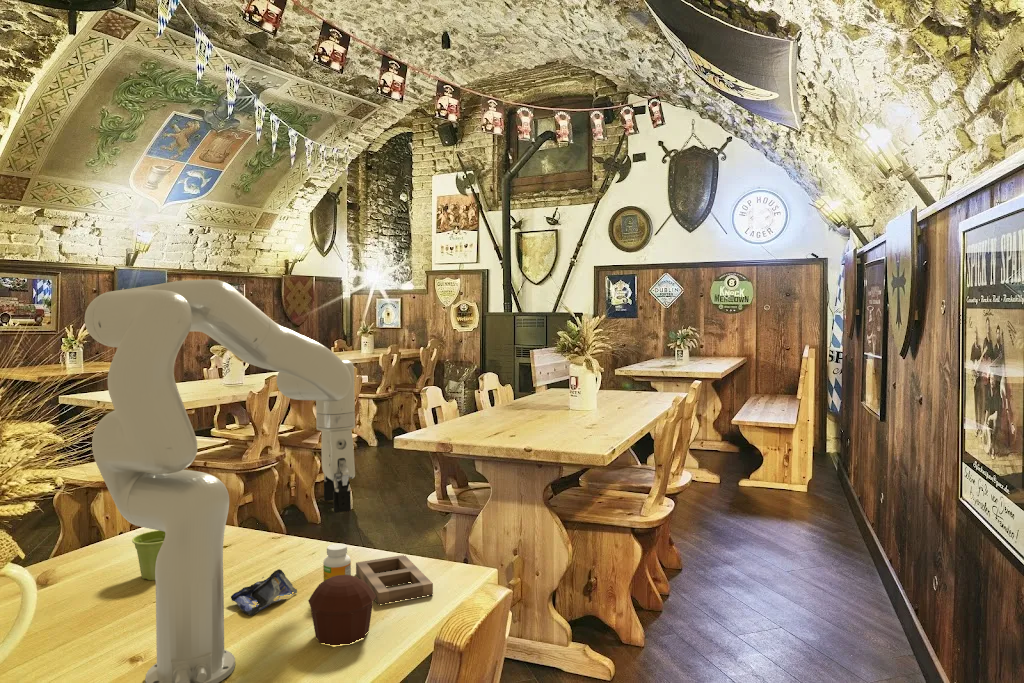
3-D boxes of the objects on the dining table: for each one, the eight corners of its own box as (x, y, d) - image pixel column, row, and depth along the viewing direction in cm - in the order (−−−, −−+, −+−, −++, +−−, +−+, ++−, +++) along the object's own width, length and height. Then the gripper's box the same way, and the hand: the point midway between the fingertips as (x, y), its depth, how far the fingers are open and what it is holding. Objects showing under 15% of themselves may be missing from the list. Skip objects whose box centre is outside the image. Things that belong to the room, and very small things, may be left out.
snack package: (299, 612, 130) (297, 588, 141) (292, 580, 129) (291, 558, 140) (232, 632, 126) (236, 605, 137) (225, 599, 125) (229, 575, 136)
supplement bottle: (318, 598, 135) (318, 549, 135) (331, 588, 141) (331, 541, 140) (343, 600, 134) (342, 551, 134) (355, 590, 139) (355, 543, 139)
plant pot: (181, 579, 146) (180, 539, 146) (131, 586, 142) (130, 545, 142) (181, 565, 154) (181, 527, 154) (134, 572, 150) (133, 533, 150)
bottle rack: (432, 595, 136) (432, 583, 136) (378, 605, 131) (378, 593, 131) (404, 565, 153) (404, 554, 153) (356, 573, 149) (355, 562, 148)
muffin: (295, 636, 119) (295, 579, 118) (348, 615, 127) (348, 562, 127) (335, 657, 111) (335, 597, 111) (389, 634, 119) (388, 578, 119)
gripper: (364, 425, 131) (366, 513, 131) (345, 414, 146) (346, 493, 147) (325, 428, 127) (326, 519, 128) (309, 417, 143) (310, 498, 143)
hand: (336, 505), depth 137 cm, fingers open, 9 cm apart
